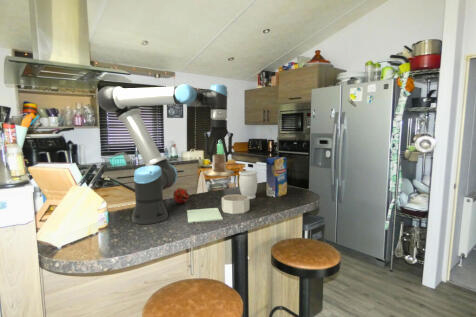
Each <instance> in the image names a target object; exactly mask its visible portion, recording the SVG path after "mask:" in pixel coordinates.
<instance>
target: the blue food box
mask: <svg viewBox="0 0 476 317" xmlns="http://www.w3.org/2000/svg"><path fill="white" fill-rule="evenodd" d="M265 162H266V164H265V166H266V167H265V169H266V171H265V172H266V174H265V175H266V176H265V178H266V183H265V184H266V190H265V191H266V196H267V197H272V196H273V198H277V197H281V196H283V195H287V192H288V191H287V190H288V176H287V172H288V170H287V168H288V165H287V164H288V157H282V156H274V157H268V158H266V159H265Z"/></svg>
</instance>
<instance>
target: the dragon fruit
mask: <svg viewBox="0 0 476 317" xmlns="http://www.w3.org/2000/svg"><path fill="white" fill-rule="evenodd" d="M172 194H173V196H172V197H173V201H174V202H175V203H178V204H179V205H181V204H183V203H186V202H187V201H188V200H191V196H190V195H189V193H188V190H187V189H185V188H183V187H179V188H176V190H174V192H173V193H172Z"/></svg>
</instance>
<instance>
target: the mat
mask: <svg viewBox="0 0 476 317" xmlns="http://www.w3.org/2000/svg"><path fill="white" fill-rule="evenodd" d="M186 212H187V213H186V215H187V223H188V224H194V223H193V222H195V223H202V222H203V223H206V222H215V221H216V222H217V221H223V220H224V218H223V216H222V215H221V212H220V210H219V208H218V207H212V208H211V207H210V208H200V209H198V208H197V209H187V210H186Z"/></svg>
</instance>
